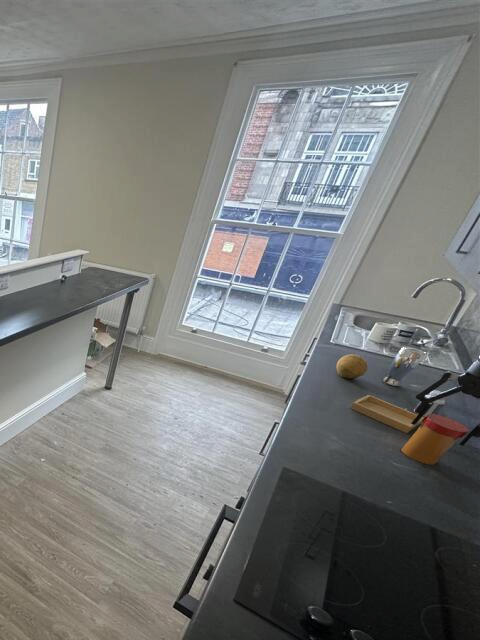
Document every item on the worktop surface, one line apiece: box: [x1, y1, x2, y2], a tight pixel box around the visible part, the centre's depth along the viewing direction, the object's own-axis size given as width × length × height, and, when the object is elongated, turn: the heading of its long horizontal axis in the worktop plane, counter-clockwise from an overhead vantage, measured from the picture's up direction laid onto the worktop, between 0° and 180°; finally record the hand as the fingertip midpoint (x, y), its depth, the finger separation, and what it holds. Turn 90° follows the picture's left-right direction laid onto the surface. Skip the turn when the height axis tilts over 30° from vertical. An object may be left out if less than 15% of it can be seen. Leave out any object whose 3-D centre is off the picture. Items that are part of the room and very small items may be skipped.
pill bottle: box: [413, 389, 447, 418], centre depth 140 cm, size 5×5×9 cm
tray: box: [349, 394, 425, 434], centre depth 138 cm, size 16×14×2 cm
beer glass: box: [380, 346, 426, 387], centre depth 158 cm, size 7×7×15 cm
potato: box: [335, 353, 369, 379], centre depth 162 cm, size 10×13×9 cm
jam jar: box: [401, 423, 460, 466], centre depth 116 cm, size 8×8×12 cm
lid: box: [421, 414, 469, 439], centre depth 113 cm, size 8×8×2 cm
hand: (437, 433), depth 114 cm, fingers open, 10 cm apart
